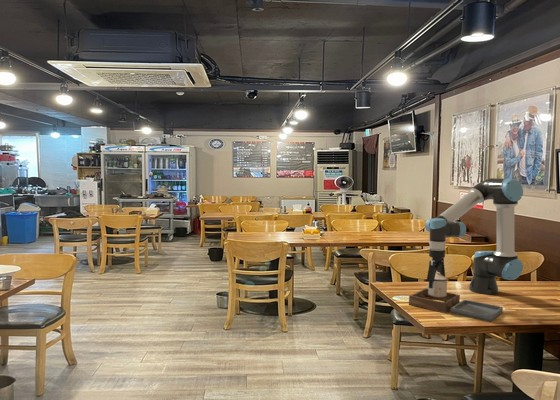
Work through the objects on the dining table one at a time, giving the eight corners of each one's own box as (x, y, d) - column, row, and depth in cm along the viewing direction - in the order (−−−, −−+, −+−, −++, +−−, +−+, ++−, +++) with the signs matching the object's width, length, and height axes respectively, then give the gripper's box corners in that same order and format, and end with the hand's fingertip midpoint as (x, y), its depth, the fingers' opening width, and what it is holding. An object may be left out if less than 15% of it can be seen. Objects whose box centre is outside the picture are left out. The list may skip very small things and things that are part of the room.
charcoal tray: (463, 304, 218) (464, 299, 218) (502, 312, 207) (502, 307, 206) (450, 313, 203) (450, 307, 203) (491, 322, 191) (491, 316, 191)
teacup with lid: (435, 291, 224) (436, 269, 223) (450, 295, 216) (451, 273, 215) (420, 294, 217) (421, 272, 217) (435, 299, 210) (436, 275, 209)
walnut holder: (424, 296, 231) (425, 288, 230) (459, 303, 219) (459, 294, 219) (408, 304, 215) (409, 295, 214) (445, 312, 203) (445, 303, 203)
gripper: (438, 245, 227) (436, 286, 228) (420, 251, 209) (419, 295, 210) (452, 247, 222) (451, 288, 223) (435, 253, 204) (434, 298, 205)
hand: (435, 291), depth 217 cm, fingers closed on teacup with lid, 11 cm apart
